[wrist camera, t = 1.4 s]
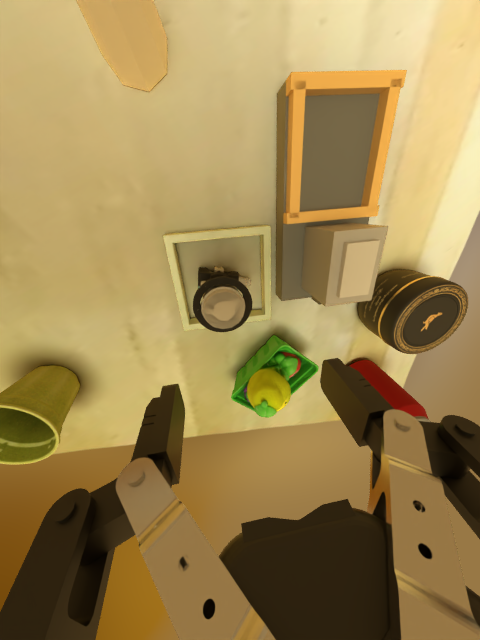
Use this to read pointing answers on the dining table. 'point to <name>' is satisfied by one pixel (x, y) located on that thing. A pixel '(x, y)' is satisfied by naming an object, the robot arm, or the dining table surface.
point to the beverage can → (390, 389)
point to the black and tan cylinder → (222, 299)
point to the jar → (413, 310)
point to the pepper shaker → (129, 39)
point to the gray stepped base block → (332, 182)
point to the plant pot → (35, 414)
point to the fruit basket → (272, 377)
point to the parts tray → (218, 234)
